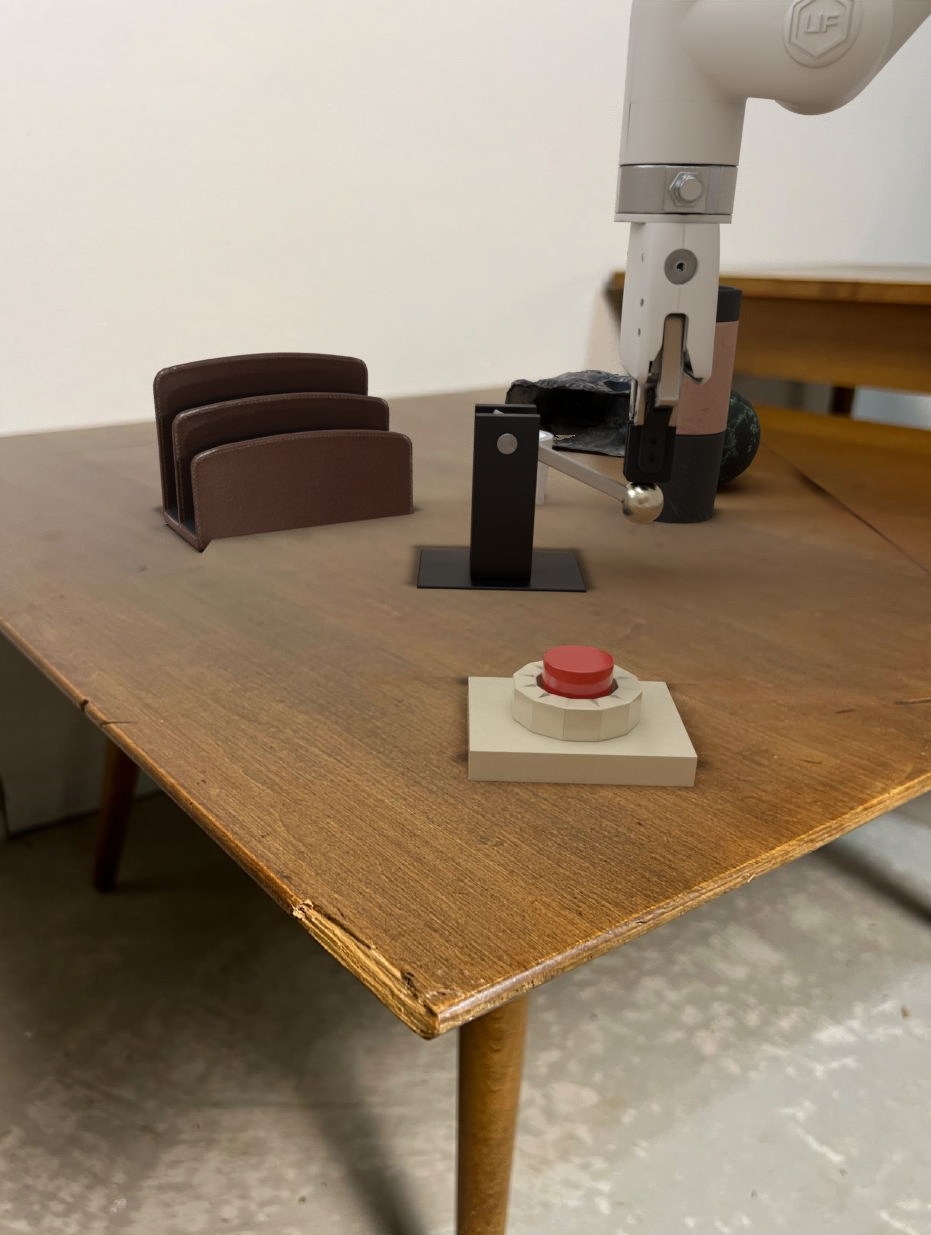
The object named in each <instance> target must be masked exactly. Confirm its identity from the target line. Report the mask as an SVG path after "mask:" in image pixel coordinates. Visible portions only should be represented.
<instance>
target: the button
mask: <svg viewBox="0 0 931 1235" xmlns="http://www.w3.org/2000/svg"><path fill="white" fill-rule="evenodd" d="M542 657H543V658H542V660H543V670H542V685H541V687H542V689H543V690H545V691H546V692H548V693H549V694H553V695H557V696H561V697H565V698H569V699H597V698H601V697H605V696H610V694H611V692H612V683H613V673H614V665H615V659H614V657H613V655H612V654H610V653H609V652H607V651H605V650H602V649H600V648H596V647H592V646H589V645H588V646H587V645H579V644H578V645H577V644H572V645H560V646H555V647H552V648H550V649H548V650H547V651H546V652H545V653H544V654H543V656H542Z"/></svg>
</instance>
